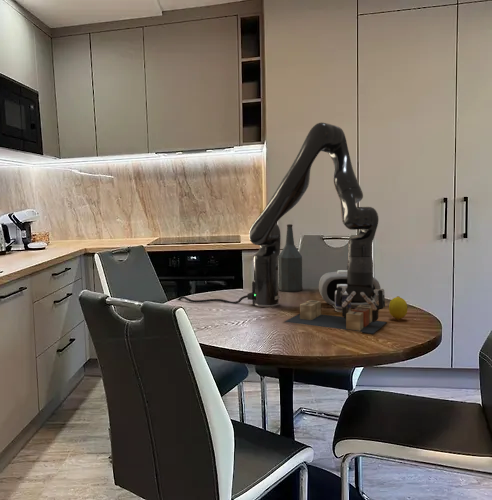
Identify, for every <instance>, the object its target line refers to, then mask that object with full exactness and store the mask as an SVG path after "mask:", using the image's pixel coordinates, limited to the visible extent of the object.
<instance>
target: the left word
mask: <svg viewBox="0 0 492 500" xmlns="http://www.w3.org/2000/svg"><path fill="white" fill-rule="evenodd" d="M299 314H300V319H305V320H313V319H315V318H316V317H318V316H320V315H321V314H322V301H321V300H314V299H308V300H307V301H305V302H302V303H300V304H299Z"/></svg>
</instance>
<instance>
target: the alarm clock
mask: <svg viewBox="0 0 492 500" xmlns="http://www.w3.org/2000/svg"><path fill="white" fill-rule="evenodd" d="M337 284H347V269H340V270H339V269H338V270H337V271H332V272H331V271H330V272H326V273H324V274H323V275H321V277H320V279H319V282H318V292H319V295H320V296H321V298H322V300H323V301H324V302H325V303H326V304H328V305H329V306H332V307H333V308H334V309H335V291H336V290H337ZM373 288H374V290H380V289H382V288H381V284H380V282H379V281H378V279H377V278H375V276H373ZM372 298H373V299H374V300H375V302H376V303H378V302H379V300H378V297H377V296H376V294H375V293H374V294H373V295H372ZM359 305H369V304H368V303H367V302H360V301H353V300H352V301H351V309H355V308H357V307H358V306H359ZM369 306H370V305H369Z"/></svg>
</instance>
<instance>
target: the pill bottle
mask: <svg viewBox="0 0 492 500" xmlns="http://www.w3.org/2000/svg"><path fill="white" fill-rule="evenodd" d="M339 286H343V287H347V284H337V287H339ZM336 295H337V290H336V291H335V308H334V311H335V312H339V313H342V306H340V305H337V304H336ZM348 296H349V295H348V293H347V292H346V291H345V292H344V293H343V297H342V301H343V302H344V301H345V300H346V299H347V298H348ZM347 307H348V312H350V311H352V308H351V302H350V303H349V304H348V305H347Z"/></svg>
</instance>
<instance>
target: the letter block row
mask: <svg viewBox="0 0 492 500" xmlns="http://www.w3.org/2000/svg"><path fill="white" fill-rule="evenodd" d="M357 308H363V309H369V323H371V322H372V310H373V309H372V307H371V306H369V305H359V306H358V307H357ZM346 329H349V330H348V331H351V330H356V331H355V332H359V331H360V330H361V329H363V312H354V311H352V310H351V311H350V312H348V313H346Z"/></svg>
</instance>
